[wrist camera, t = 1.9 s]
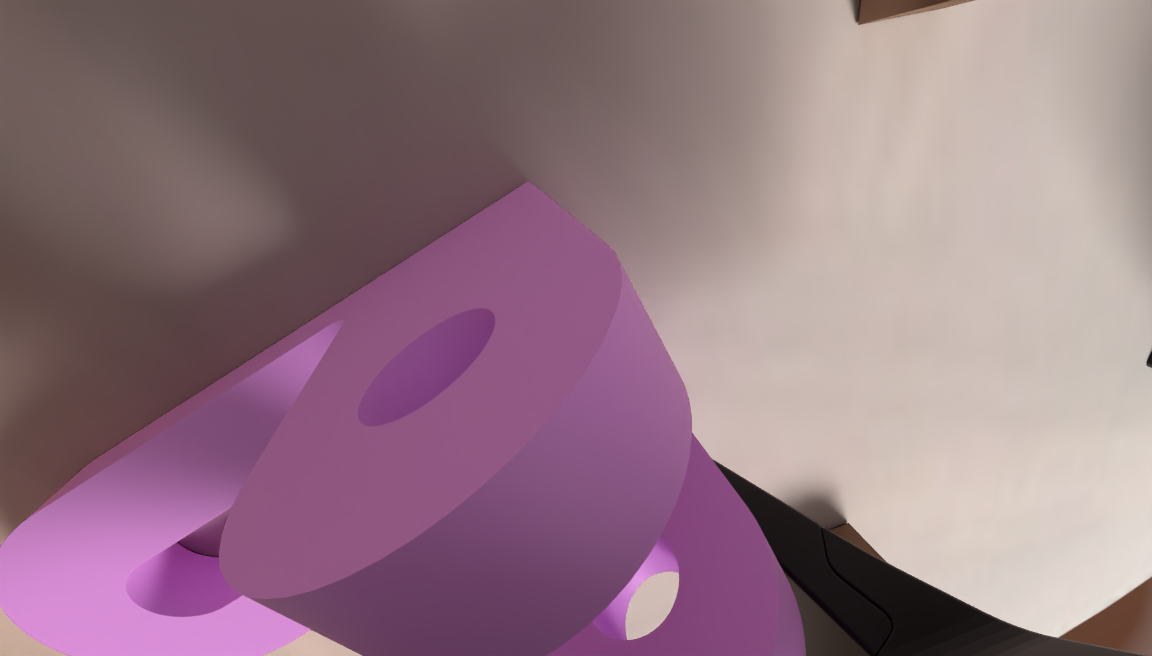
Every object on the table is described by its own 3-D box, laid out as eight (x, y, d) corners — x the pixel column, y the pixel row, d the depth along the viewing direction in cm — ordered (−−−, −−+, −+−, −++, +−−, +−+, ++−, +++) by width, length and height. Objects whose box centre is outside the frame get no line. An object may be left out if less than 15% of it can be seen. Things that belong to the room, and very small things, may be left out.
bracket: (528, 180, 8) (728, 343, 2) (644, 377, 11) (883, 709, 5) (-16, 530, 8) (-1278, 1584, 2) (226, 637, 11) (-65, 1259, 5)
